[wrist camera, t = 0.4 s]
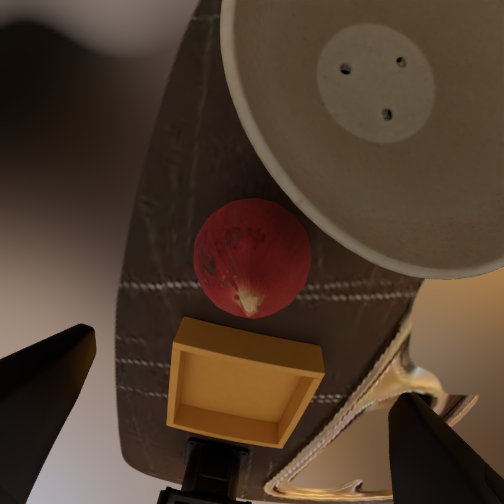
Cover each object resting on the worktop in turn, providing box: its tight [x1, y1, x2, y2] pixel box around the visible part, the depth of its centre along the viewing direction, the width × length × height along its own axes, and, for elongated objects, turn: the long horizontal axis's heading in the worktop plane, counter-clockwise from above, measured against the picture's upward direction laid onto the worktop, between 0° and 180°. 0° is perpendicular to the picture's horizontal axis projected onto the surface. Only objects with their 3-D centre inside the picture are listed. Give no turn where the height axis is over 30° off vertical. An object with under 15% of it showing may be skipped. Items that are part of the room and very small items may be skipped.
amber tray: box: [167, 316, 325, 448], centre depth 23 cm, size 10×10×3 cm
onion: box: [194, 198, 312, 319], centre depth 16 cm, size 6×6×8 cm
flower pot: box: [220, 0, 504, 280], centre depth 11 cm, size 14×14×10 cm
